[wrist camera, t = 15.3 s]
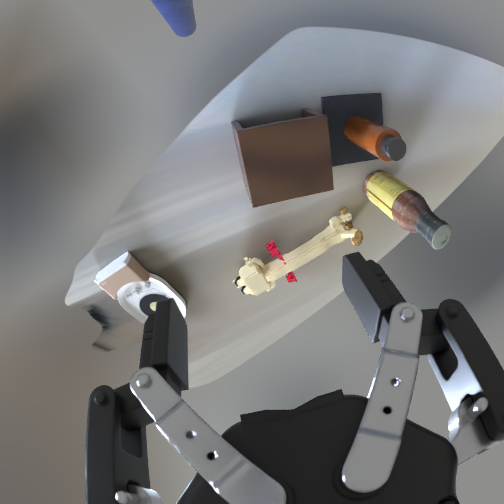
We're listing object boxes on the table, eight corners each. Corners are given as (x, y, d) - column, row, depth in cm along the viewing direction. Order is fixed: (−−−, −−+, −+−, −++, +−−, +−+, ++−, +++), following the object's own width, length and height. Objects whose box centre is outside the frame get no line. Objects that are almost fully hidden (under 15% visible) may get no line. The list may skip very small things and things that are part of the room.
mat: (320, 97, 39) (322, 97, 39) (379, 93, 39) (381, 93, 39) (328, 166, 46) (329, 167, 46) (382, 157, 46) (384, 158, 46)
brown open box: (230, 121, 40) (236, 131, 33) (307, 108, 40) (327, 115, 34) (245, 186, 46) (252, 207, 40) (315, 171, 46) (333, 189, 40)
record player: (130, 257, 47) (197, 320, 58) (133, 246, 49) (196, 309, 61) (89, 285, 49) (156, 340, 60) (93, 275, 51) (156, 329, 63)
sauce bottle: (386, 197, 51) (449, 256, 35) (359, 199, 51) (420, 263, 35) (391, 166, 48) (462, 218, 32) (363, 167, 47) (432, 222, 31)
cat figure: (336, 194, 51) (220, 265, 54) (360, 215, 44) (228, 295, 46) (351, 233, 57) (246, 296, 59) (373, 256, 49) (256, 327, 52)
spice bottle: (342, 117, 41) (382, 134, 31) (367, 114, 41) (411, 131, 31) (344, 144, 44) (382, 168, 34) (369, 141, 44) (410, 164, 34)
